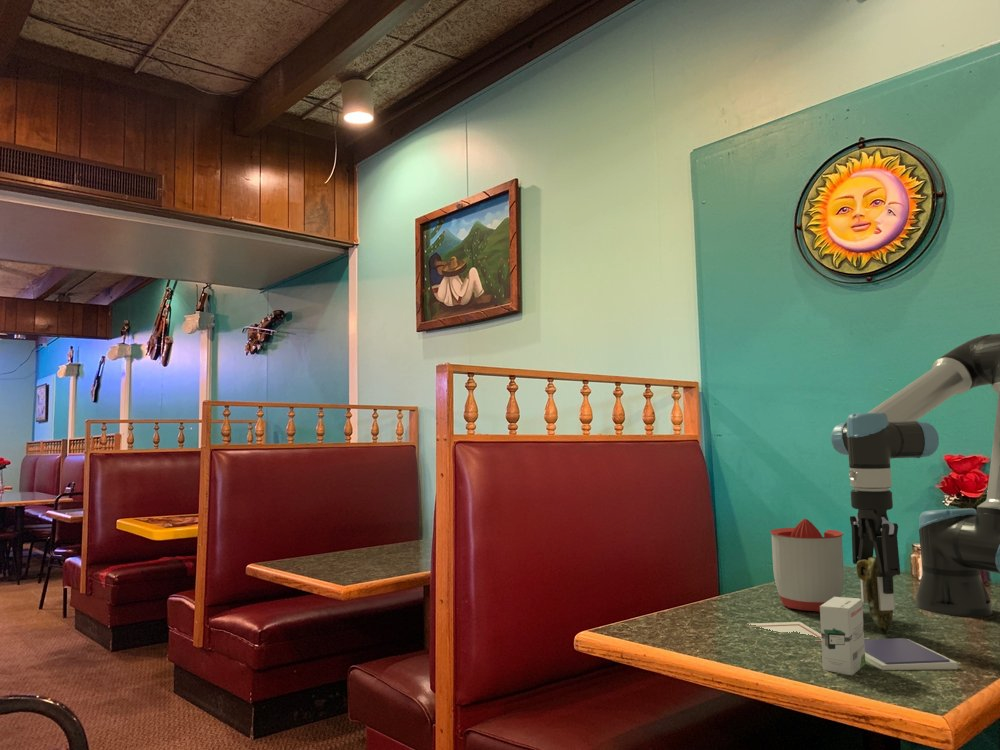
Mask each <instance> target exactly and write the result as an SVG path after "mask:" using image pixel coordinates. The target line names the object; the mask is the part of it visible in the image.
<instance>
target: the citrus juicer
mask: <svg viewBox="0 0 1000 750" xmlns="http://www.w3.org/2000/svg"><path fill="white" fill-rule="evenodd" d="M769 533H770V534H771V551H772V552H771V553H772V554H771V555H772V568H773V569H772V570H773V577H774V582H775V586H776V588H777V589H776V590H777V591H778V592H777V593H778V597H779V598H780V600H781V603H782V605H783V606H785V607H786V608H787V609H793V610H794V609H795V610H799V611H808V612H810V611H811V612H816V613H820V606H821V605H822V604H824V603H825V602H827V601H829V600H830V599H832V598H833V597H842V592H843V590H844V589H843V588H844V580H845V573H844V552H843V536H844V533H843V532H842V531H838V530H835V529H827V530H825V532H823V535H822V532H821V531H819V529H818V528H817V527H816V526H815V524H814V523H812V521H810V520H809V519H807V518H803V519H801V521H800V522H799V523H798V524H797V525H796V526H795V527H782V528H774V529H771V530H770V532H769Z"/></svg>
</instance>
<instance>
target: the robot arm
mask: <svg viewBox="0 0 1000 750" xmlns="http://www.w3.org/2000/svg"><path fill="white" fill-rule="evenodd" d="M987 385H991V389H992V390H993V391H994V392H996V394H997V396H998V397H997V405H996V415H995V422H994V430H993V431H994V432H993V441H992V450H991V459H990V466H989V474H988V475H989V476H988V485H987V492H986V500H985V501H983V502H982V503H980V504H979V505H977V506H976V509H975V508H971V507H969V508H968V507H967V508H966V507H965V508H948V509H945V508H944V509H932V510H931V509H930V510H925V511H922V512H921V513H920V515H919V524H918V525H919V526H918V534H919V546H920V548H919V549H920V557H921V558H920V559H921V572H922V574H921V577H920V581H919V584H918V586H917V587H918V588H917V590H916V594H915V607H917V609H919V610H922V611H926V612H930V613H933V614H940V615H946V616H953V615H955V616H954V617H956V616H957V617H965V616H966V617H967V618H968V617H970V618H974V617H975V618H976V617H977V618H980V617H981V618H982V617H989V616H992V614H993V603H992V601H991V598H990V596H989V594H988V591H987V588H986V586H985V584H984V582H983V580H982V576H981V574H982V573H981V571H983V572H989V573H994V574H1000V332H999V333H993V334H992V333H991V334H985V335H979V336H977V337H974V338H972V339H969V340H967V341H966V342H964V343H962V344H959V345H958V346H956V347H955V348H953V349H952V350H950V351H947V353H945V354H944V355H942V356H940V357H939V358H938V359H936V360H935V361H934V362H933V364H932V366H931V369H930V370H928V371H926V372H925V373H924V374H922V375H921V376H919V377H918V378H916V379H915V380H913V381H912V382H910V383H909V384H907V385H906V386H904V387H903V388H902V389H900V390H899V391H897V392H896V393H894V394H893V395H891V396H890V397H888V398H887V399H886V400H884V401H883V402H881V403H880V404H878V405H877V406H876V407H873V408H872V409H871V410H870V411H868V412H859V413H857V412H856V413H851V414H849V415H848V416H847V420H846V422H840V423H838V424H837V425H835V426H834V427H833V429H832V430H831V434H830V443H831V445H832V447H833V449H834V450H835V451H836V452H837V453H838V454H840V455H842V456H843V455H844V456H848V467H849V473H848V477H849V480H850V481H849V482H850V483H849V485H850V487H852V488H853V489H851V491H850V505H851V508H852V509H855V510H857V515H851V516H850V517H849V521H850V527H851V554H852V563H853V564H854V565H857V562H858V561H860V560H868V558H870V557H874V553H875V557H876V559H877V564H878V569H879V573H880V574H876V576H877V585H878V602H879V610H881V611H883V610H893V611H895V595H894V594H895V593H894V592H895V591H894V577H895V576H899V575H901V568H900V567H901V565H900V555H899V543H898V530H899V525H898V523H897V522H896V523H895V522H894V523H892V522H890V521H889V517H888V513H887V512H888V511H889V510H892V509H893V507H894V503H893V502H894V501H893V492H892V491H891V490H890V488H892V487H893V485H892V469H891V460H892V459H921V458H927V457H930V456H932V455H934V454H935V453H936V451H937V450H938V448H939V444H940V440H939V439H940V437H939V433H938V431H937V429H936V428H935V427H934V426H933V425H932V424H931V423H929V422H927V421H919V420H920V419H922V418H923V417H924V416H926V415H927V414H928V413H930V412H931V411H933V410H935V408H937V407H939V406H940V405H941V404H943V403H944V402H946V401H947V400H949V399H950V398H952V397H953V396H954V395H961V394H965V393H966V392H968V391H969V390H971V389H973V388H977V387H981V386H987ZM863 572H864V574H865V575H866V569H865V568H864V567H863ZM859 579H860V578H859ZM865 583H866V581H863V580H861V579H860V594H861V595H860V596H861V597H860V599H862V604H868V601H867V600H866V596H867V595H866V587H865ZM966 617H965V618H966Z"/></svg>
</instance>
